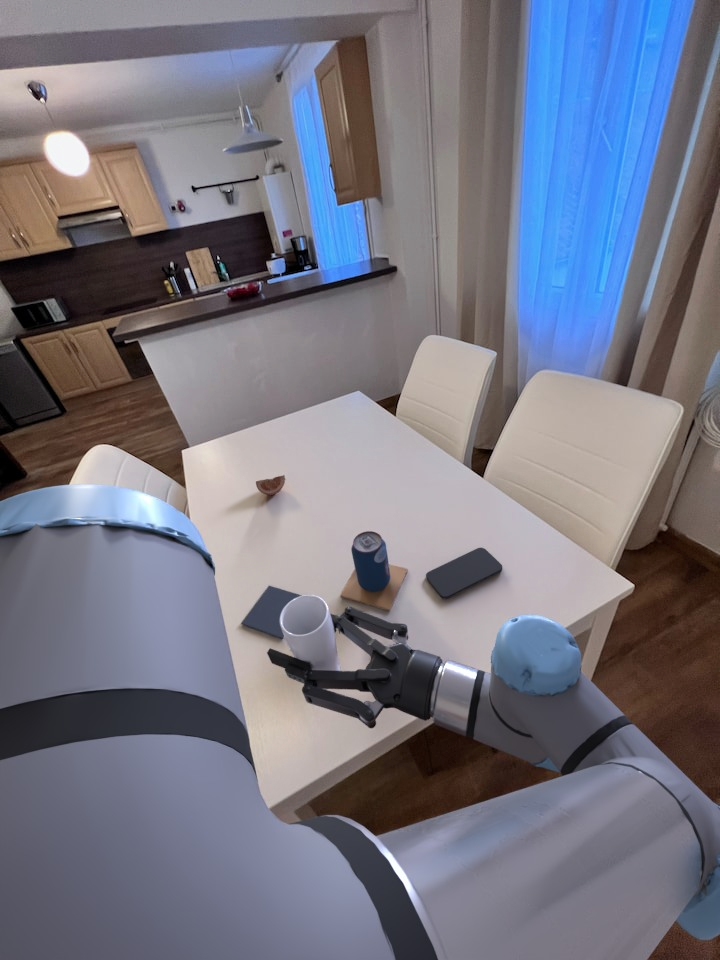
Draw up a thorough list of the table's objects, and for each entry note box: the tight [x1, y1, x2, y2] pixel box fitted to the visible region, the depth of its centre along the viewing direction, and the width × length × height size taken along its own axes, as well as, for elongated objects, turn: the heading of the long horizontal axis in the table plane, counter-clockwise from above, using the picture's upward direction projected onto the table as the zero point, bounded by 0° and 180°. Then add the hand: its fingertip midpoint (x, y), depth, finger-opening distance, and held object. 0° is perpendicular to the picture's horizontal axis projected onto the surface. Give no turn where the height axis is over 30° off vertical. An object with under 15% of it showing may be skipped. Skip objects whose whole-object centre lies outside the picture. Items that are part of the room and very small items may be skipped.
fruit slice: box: [255, 474, 287, 496], centre depth 116 cm, size 8×7×5 cm
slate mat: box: [240, 585, 303, 640], centre depth 83 cm, size 10×10×1 cm
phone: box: [425, 547, 503, 600], centre depth 84 cm, size 7×1×15 cm
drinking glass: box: [280, 594, 342, 690], centre depth 58 cm, size 7×7×15 cm
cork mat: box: [340, 563, 409, 612], centre depth 85 cm, size 11×11×1 cm
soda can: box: [351, 530, 390, 592], centre depth 82 cm, size 7×7×12 cm
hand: (284, 634), depth 59 cm, fingers closed on drinking glass, 6 cm apart
